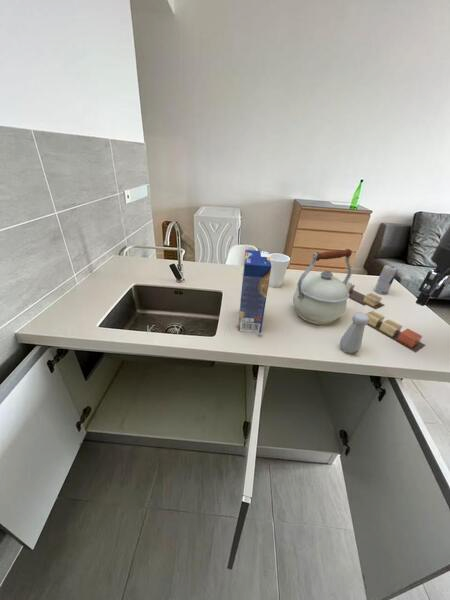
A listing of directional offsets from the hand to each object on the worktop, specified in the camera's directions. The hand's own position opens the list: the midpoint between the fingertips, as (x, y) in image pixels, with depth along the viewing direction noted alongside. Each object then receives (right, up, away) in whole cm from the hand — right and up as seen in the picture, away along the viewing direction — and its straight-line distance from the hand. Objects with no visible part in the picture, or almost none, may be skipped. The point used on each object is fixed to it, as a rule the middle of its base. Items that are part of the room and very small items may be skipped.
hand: (426, 300), depth 70 cm
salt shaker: (-20, -15, +5) cm, 26 cm away
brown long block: (-2, +1, +34) cm, 34 cm away
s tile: (+1, -13, +9) cm, 16 cm away
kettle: (-23, -5, +22) cm, 32 cm away
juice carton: (-50, -8, +15) cm, 53 cm away
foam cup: (-36, +7, +41) cm, 55 cm away
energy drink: (+12, +4, +40) cm, 41 cm away
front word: (-2, -11, +13) cm, 18 cm away
